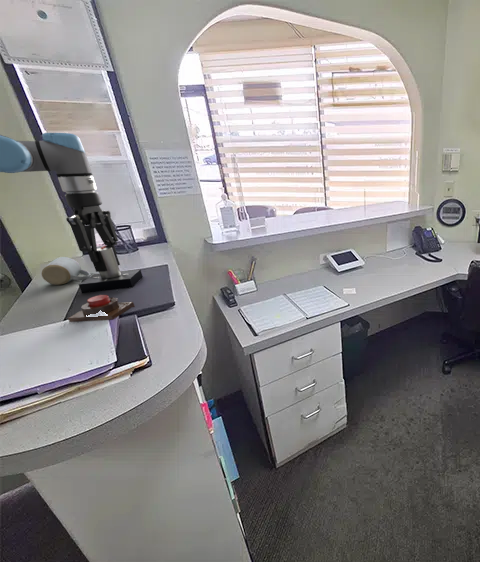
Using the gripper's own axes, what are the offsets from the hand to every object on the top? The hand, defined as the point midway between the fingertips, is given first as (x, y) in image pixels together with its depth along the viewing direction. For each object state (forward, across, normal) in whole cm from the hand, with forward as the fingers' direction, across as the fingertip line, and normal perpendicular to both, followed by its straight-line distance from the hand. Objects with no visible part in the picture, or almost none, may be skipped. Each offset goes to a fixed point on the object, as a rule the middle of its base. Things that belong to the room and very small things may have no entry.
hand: (108, 268), depth 98 cm
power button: (+2, -24, -14) cm, 28 cm away
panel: (+6, 0, 0) cm, 6 cm away
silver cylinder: (+3, 0, 0) cm, 3 cm away
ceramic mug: (+6, +6, +18) cm, 20 cm away
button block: (+6, -24, -14) cm, 28 cm away
